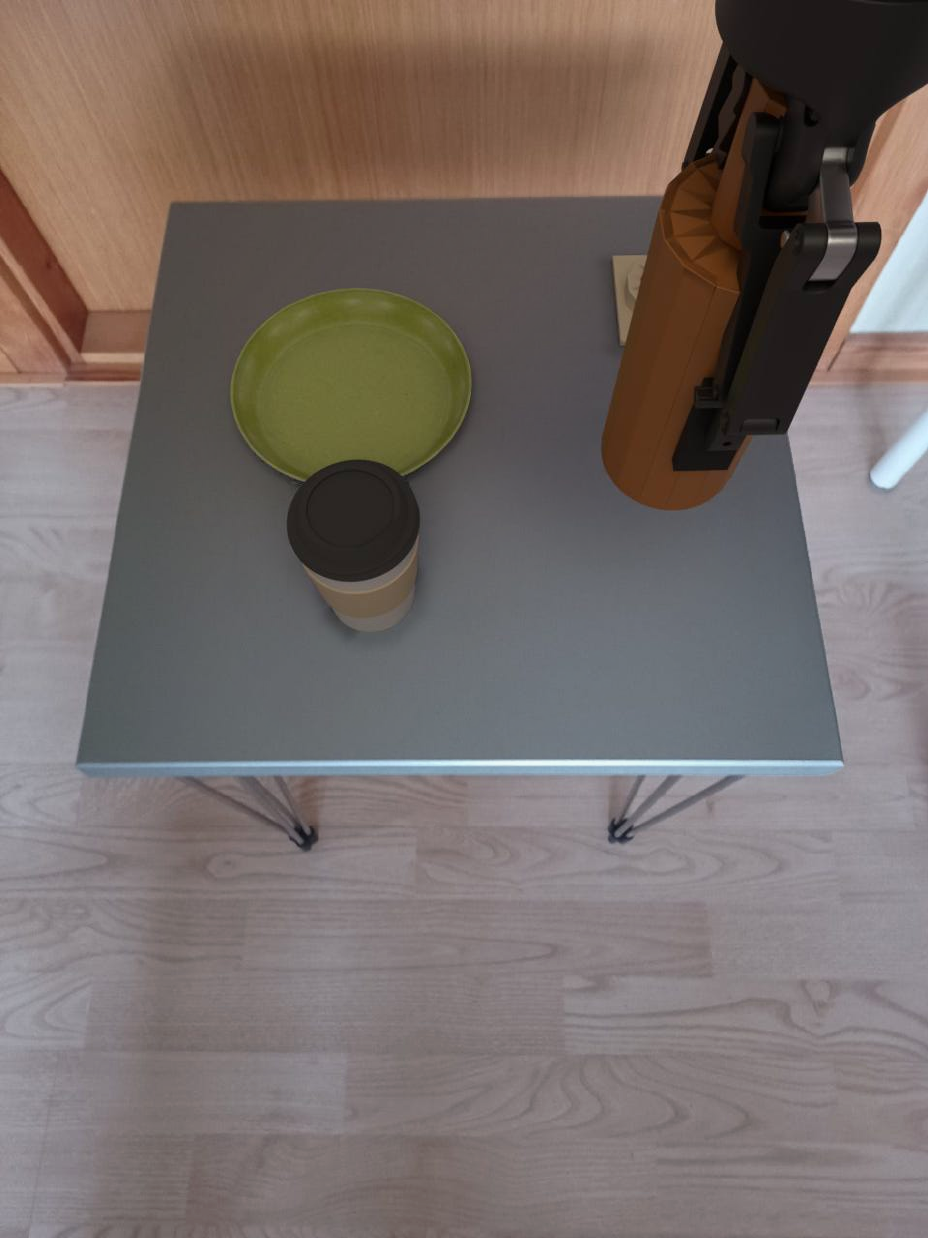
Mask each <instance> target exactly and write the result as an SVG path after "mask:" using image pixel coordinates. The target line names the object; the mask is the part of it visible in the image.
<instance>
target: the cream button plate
mask: <svg viewBox="0 0 928 1238" xmlns="http://www.w3.org/2000/svg"><path fill="white" fill-rule="evenodd" d="M647 255H648V254H639V255H638V254H636V255H635V254H633V255H631V254H629V255H628V254H626V255H625V254H624V255H623V254H622V255H612V257H611V268H612V277H613V278H612V279H613V290H614V300H615V311H616V321H617V322H616V323H617V332H618V342H619V343H618V344H619V346H620V347H625V343H626V339H627V335H628V331H629V327H630V323H631V319H632V315H633V311H634V307H635V303H636V299H637V295H638V291H639V287H640V283H641V279H642V275H643V271H644V267H645V263H646V259H647Z"/></svg>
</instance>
